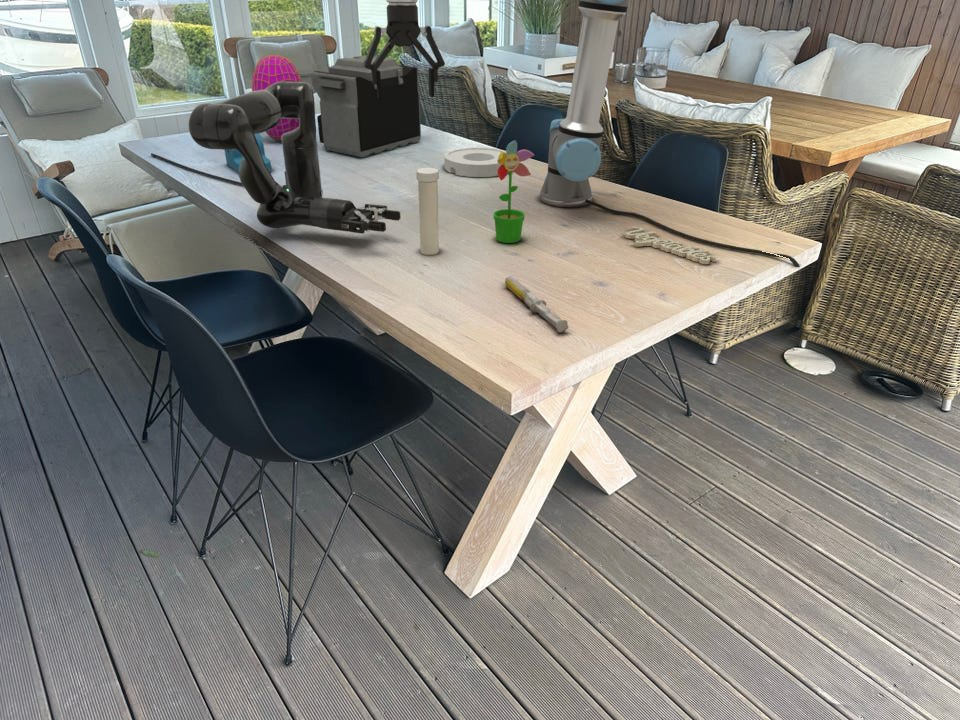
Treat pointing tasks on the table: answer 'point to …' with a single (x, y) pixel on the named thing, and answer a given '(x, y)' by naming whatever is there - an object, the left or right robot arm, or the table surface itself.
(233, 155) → the camera mount
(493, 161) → the white round base
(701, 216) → the table surface
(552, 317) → the syringe
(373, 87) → the portable cooler box
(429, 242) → the beige long cylinder
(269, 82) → the decorative egg
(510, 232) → the potted flower
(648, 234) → the decorative sign
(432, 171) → the lid
